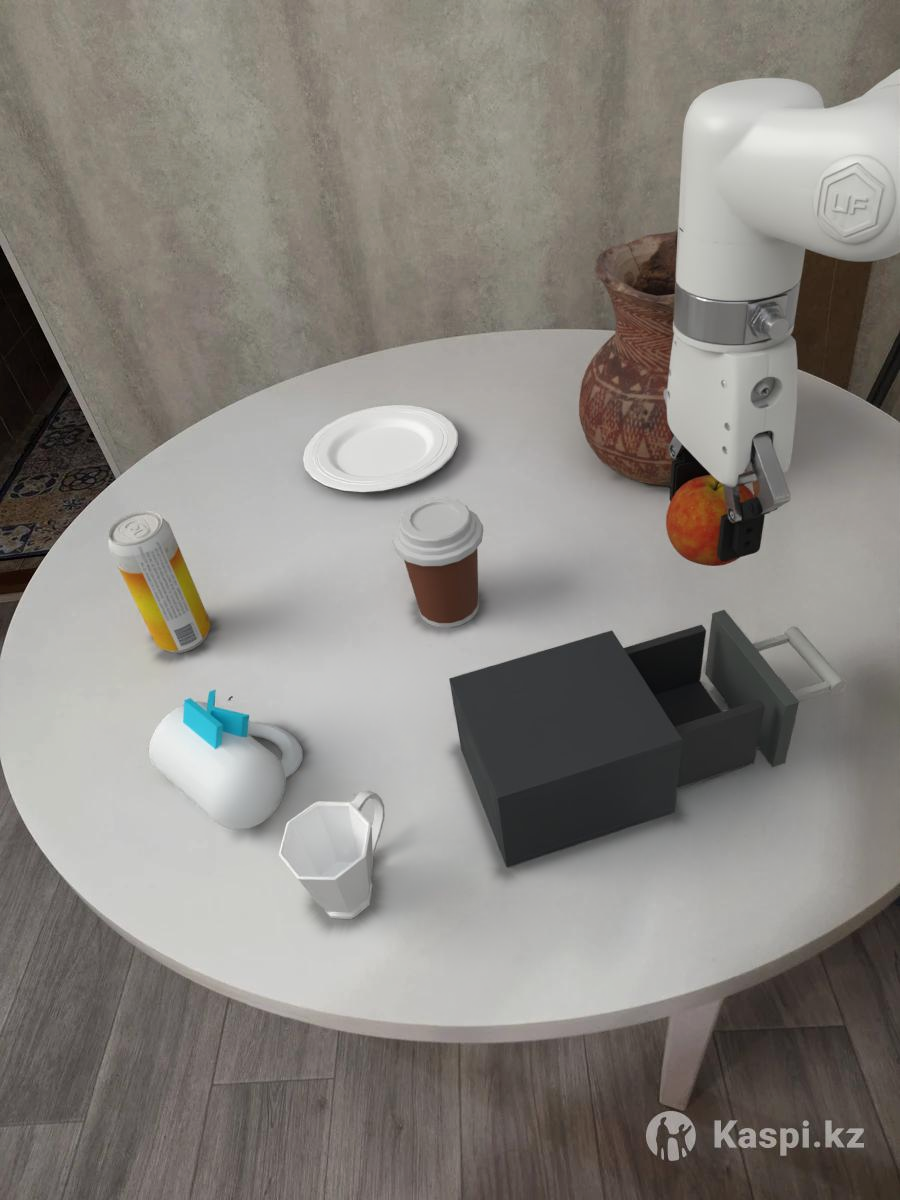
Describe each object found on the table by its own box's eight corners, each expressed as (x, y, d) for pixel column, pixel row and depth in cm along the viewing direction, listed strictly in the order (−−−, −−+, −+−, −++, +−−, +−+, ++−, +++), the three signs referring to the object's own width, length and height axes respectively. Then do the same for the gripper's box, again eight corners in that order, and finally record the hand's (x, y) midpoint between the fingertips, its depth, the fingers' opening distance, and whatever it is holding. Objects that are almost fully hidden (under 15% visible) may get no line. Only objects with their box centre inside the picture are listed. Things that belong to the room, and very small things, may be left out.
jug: (759, 509, 98) (792, 296, 82) (573, 507, 103) (569, 304, 86) (746, 408, 114) (771, 213, 97) (585, 410, 118) (583, 223, 102)
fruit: (666, 585, 67) (671, 501, 62) (662, 530, 72) (666, 448, 67) (760, 584, 66) (773, 499, 61) (748, 528, 71) (760, 445, 66)
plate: (446, 503, 106) (444, 490, 105) (286, 503, 110) (282, 490, 109) (470, 414, 121) (468, 402, 120) (328, 417, 125) (325, 405, 124)
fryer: (611, 703, 80) (612, 629, 74) (675, 812, 71) (682, 739, 64) (461, 749, 78) (448, 678, 72) (506, 868, 69) (497, 798, 62)
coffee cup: (501, 583, 94) (492, 493, 86) (477, 642, 88) (465, 551, 80) (422, 574, 97) (407, 486, 89) (394, 630, 91) (374, 541, 83)
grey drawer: (776, 651, 81) (788, 590, 76) (851, 741, 73) (871, 679, 68) (580, 712, 79) (579, 652, 73) (635, 812, 70) (638, 753, 65)
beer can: (196, 609, 97) (150, 500, 87) (222, 635, 93) (177, 525, 83) (147, 636, 94) (94, 528, 84) (171, 665, 91) (118, 555, 80)
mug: (234, 767, 67) (149, 696, 73) (227, 858, 70) (148, 783, 77) (347, 718, 75) (262, 660, 82) (336, 802, 79) (256, 739, 86)
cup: (285, 915, 68) (258, 860, 63) (352, 814, 74) (333, 757, 69) (360, 951, 65) (338, 897, 60) (423, 843, 71) (409, 786, 66)
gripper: (871, 346, 49) (821, 581, 61) (721, 249, 62) (703, 458, 74) (751, 377, 48) (723, 609, 60) (623, 272, 61) (621, 480, 73)
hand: (712, 524), depth 67 cm, fingers closed on fruit, 7 cm apart
